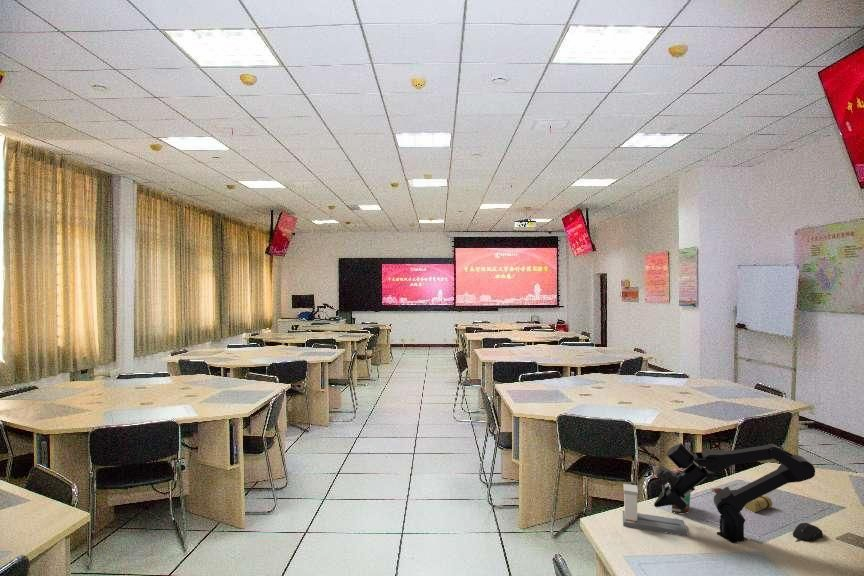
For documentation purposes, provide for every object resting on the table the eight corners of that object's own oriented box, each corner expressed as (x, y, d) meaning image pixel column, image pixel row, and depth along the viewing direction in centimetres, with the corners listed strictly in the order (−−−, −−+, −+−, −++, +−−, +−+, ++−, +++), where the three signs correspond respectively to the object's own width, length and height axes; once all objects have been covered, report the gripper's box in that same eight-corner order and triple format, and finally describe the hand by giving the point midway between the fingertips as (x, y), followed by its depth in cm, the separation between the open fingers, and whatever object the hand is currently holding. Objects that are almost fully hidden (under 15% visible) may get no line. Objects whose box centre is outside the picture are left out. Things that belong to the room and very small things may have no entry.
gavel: (703, 485, 195) (719, 481, 199) (704, 496, 194) (719, 492, 199) (755, 502, 176) (772, 497, 180) (756, 514, 175) (773, 509, 180)
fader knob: (637, 513, 172) (637, 485, 172) (638, 521, 166) (638, 492, 166) (623, 511, 173) (623, 483, 173) (624, 519, 167) (623, 490, 167)
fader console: (683, 524, 167) (683, 519, 167) (687, 536, 159) (687, 531, 159) (622, 514, 175) (622, 510, 175) (623, 525, 166) (623, 521, 166)
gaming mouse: (784, 539, 158) (783, 527, 158) (804, 528, 166) (804, 516, 166) (806, 547, 153) (806, 535, 153) (826, 536, 160) (826, 524, 160)
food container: (689, 518, 172) (689, 490, 172) (671, 513, 176) (671, 486, 176) (695, 506, 182) (694, 480, 182) (677, 502, 185) (677, 476, 186)
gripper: (667, 451, 174) (635, 478, 178) (674, 469, 156) (638, 497, 160) (692, 475, 171) (659, 502, 175) (701, 496, 154) (664, 525, 157)
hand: (655, 505), depth 167 cm, fingers closed
